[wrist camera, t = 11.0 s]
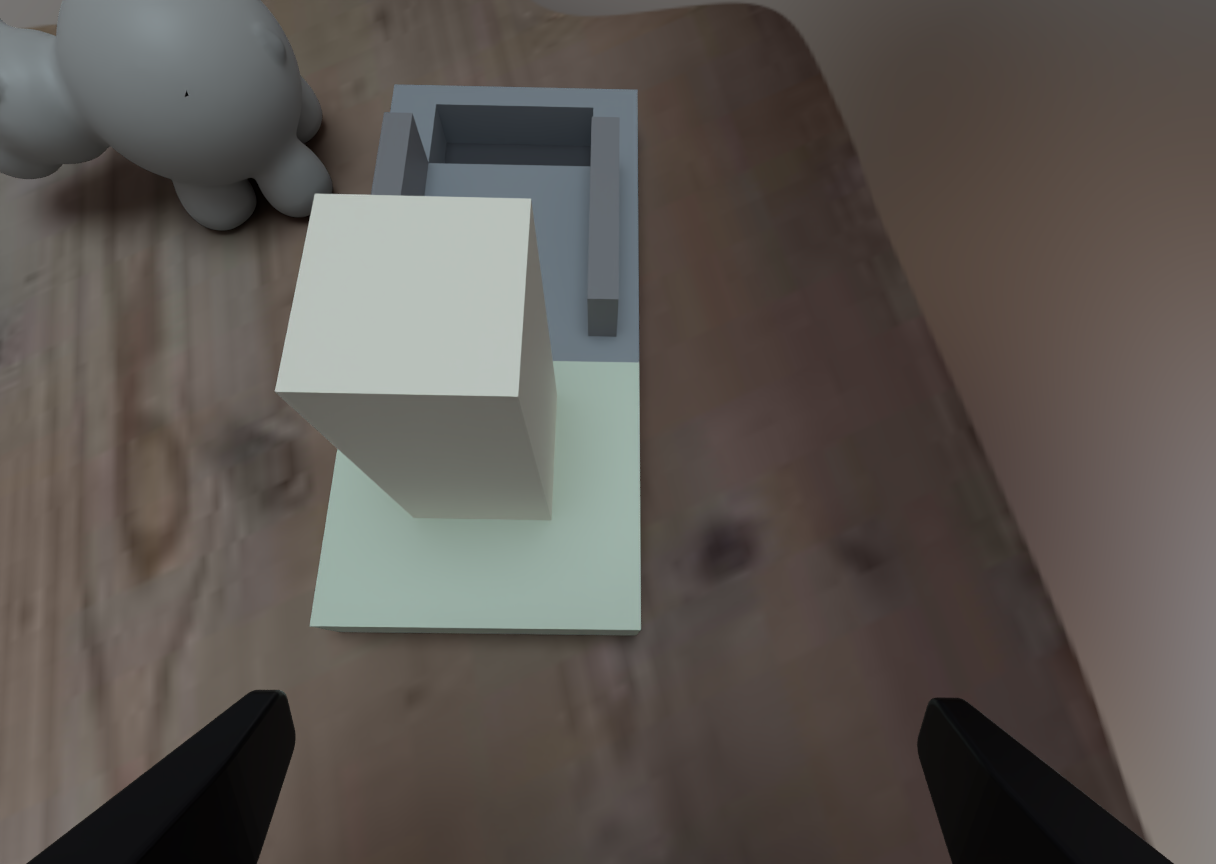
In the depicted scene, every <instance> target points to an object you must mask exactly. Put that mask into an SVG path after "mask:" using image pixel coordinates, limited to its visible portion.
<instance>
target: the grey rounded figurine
mask: <svg viewBox="0 0 1216 864" xmlns="http://www.w3.org/2000/svg"><path fill="white" fill-rule="evenodd" d="M321 122H322V110H321V106H320V103H319V101H318V99H317V97H316V95H315V93H314V92H313V90H312V89H311V87H310V86H309V85H308V83H307V82H306V81H305V80H304V79H303V78H302V77H301V75H300V72H299V68H298V64H297V61H296V58H295V55H294V52H293V50H292V47H291V45H290V43H289V41H288V39H287V37H286V35H285V33H284V31H283V30H282V28H281V26H280V25H279V23H278V22H277V20H276V19H275V17H274V16H273V15H272V13H271V12H270V11H269V10H268V8H267V7H266V6H265V5H264V4H263V3H262V1H261V0H63V1H62V4H61V7H60V11H59V16H58V23H57V34H56V36H54V35H51V34H48V33H45V32H41V31H37V30H32V29H21V28H15V27H11V26H9V25H7V24H6V23H5V22H3V21H2V20H1V19H0V172H1V173H4V174H6V175H9V176H12V177H15V178H21V179H37V178H43V177H46V176H49V175H51V174H53V173H54V172H56V171H57V170H58V169H59V168H60V167H61V165H62V164H76V163H82V162H86V161H90V160H92V159H95V158H97V157H98V156H100V155H101V154H102V153H103V152H104V151H105V150H106V149H107V148H108V147H110V146H111V147H112V148H113V149H115V150H116V151H117V152H118V153H120V154H121V155H122V156H124V157H125V158H127V159H128V160H130V161H131V162H133V163H134V164H136V165H138V166H140V167H142V168H144V169H146V170H148V171H150V172H152V173H155V174H157V175H160V176H163V177H166V178H169V179H171V180H172V182H173V184H174V187H175V190H176V193H177V195H178V197H179V199H180V201H181V203H182V205H183V206H184V208H185V209H186V211H187V212H188V213H189V214H190V216H191V217H192V218H193V219H194V220H196V221H197V222H198V223H199V224H201V225H203V226H205V227H207V228H210V229H213V230H230V229H233V228H235V227H237V226H239V225H241V224H242V223H244V222H245V221H246V220H247V219H248V218H249V217H250V216H251V215H252V213H253V212H254V210H255V207H256V202H257V201H256V195H255V192H254V190H253V187H252V186H251V184H250V182H249V181H248V180H247V178H254V179H255V180H256V181H257V183H258V186H259V188H260V189H261V191H262V193H263V195H264V196H265V198H266V199H267V200H268V201H269V203H270V204H271V205H272V206H273V207H274V208H275V209H277V210H278V211H280V212H281V213H283V214H285V215H288V216H292V217H305V216H308V215H311V210H312V205H313V200H314V195H315V194H331V193H332V188H333V187H332V181H331V178H330V175H329V173H328V171H327V170H326V168H325V166H324V165H323V163H322V162H321V161H320V160H319V158H318V157H317V156H316V155H315V154H314V153H313V152H312V151H311V150H310V149H309V148H308V147H307V146H305V145H304V144H303V143H305V142H307V141H309V140H310V139H311V138H312V137H313V136H314V135H315V134H316V133H317V131H318V130H319V128H320V125H321Z"/></svg>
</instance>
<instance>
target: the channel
mask: <svg viewBox="0 0 1216 864" xmlns="http://www.w3.org/2000/svg"><path fill="white" fill-rule="evenodd" d="M371 195H397V196H440V197H483V198H526V199H531V201H532V209H533V216H534V224H535V231H536V239H537V246H538V254H539V261H540V269H541V277H542V284H543V292H544V299H545V307H546V314H547V322H548V329H549V337H550V344H551V352H552V359H553V367H554V374H555V382H556V389H557V409H556V431H555V454H554V477H553V500H552V520H505V519H449V518H413V517H412V516H411V515H410V514H409V513H408V512H407V511H406V510H405V509H403V508H402V507H401V506H400V505H399V504H398V503H397V502H396V501H395V500H393V499H392V498H391V497H390V496H389V495H388V494H387V493H386V492H385V491H384V490H382V489H381V488H380V487H379V486H378V485H377V484H376V483H375V482H374V481H373V480H371V479H370V478H369V477H368V476H367V475H366V474H365V473H364V472H363V471H362V470H360V469H359V468H358V467H357V466H356V465H355V464H354V463H353V462H352V461H351V460H349V459H348V458H347V457H346V456H345V455H344V454H343V453H342V452H341V451H340V450H338V449H337V455H336V461H335V468H334V474H333V480H332V487H331V493H330V499H329V506H328V512H327V519H326V525H325V531H324V538H323V544H322V550H321V557H320V563H319V570H318V576H317V582H316V589H315V595H314V601H313V608H312V614H311V621H310V626H311V627H316V628H321V629H326V630H331V631H336V632H382V633H470V634H557V635H637V634H638V633H639V632H640V630H641V569H640V419H639V269H638V119H637V90H622V89H576V88H530V87H484V86H438V85H394V92H393V98H392V104H391V111H390V112H384V117H383V123H382V129H381V136H380V142H379V148H378V154H377V161H376V167H375V173H374V179H373V185H372V192H371Z"/></svg>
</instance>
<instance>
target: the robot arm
mask: <svg viewBox="0 0 1216 864" xmlns="http://www.w3.org/2000/svg"><path fill="white" fill-rule="evenodd" d="M294 746H295V728H294V724H293V720H292V716H291V712H290V707H289V703H288V699H287V696H286V694H285V693H284V692H283V691H280V690H254V691H252V692H250V693H248V694H246V695H245V696H244V697H243V698H241V699H240V700H239V701H237V702H236V703H235V704H233V705H232V706H231V707H230V708H228V709H227V710H226V711H224V712H223V713H222V714H220V715H219V716H218V717H217V718H215V719H214V720H213V721H211V722H210V723H209V724H207V725H206V726H205V727H204V728H202V729H201V730H200V731H198V732H197V733H196V734H194V735H193V736H192V737H191V738H189V739H188V740H187V741H185V742H184V743H183V744H181V745H180V746H179V747H178V748H176V749H175V750H174V751H172V752H171V753H170V754H168V755H167V756H166V757H165V758H163V759H162V760H161V761H159V762H158V763H157V764H155V765H154V766H153V767H152V768H150V769H149V770H148V771H146V772H145V773H144V774H142V775H141V776H140V777H139V778H137V779H136V780H135V781H133V782H132V783H131V784H129V785H128V786H127V787H125V788H124V789H123V790H122V791H120V792H119V793H118V794H116V795H115V796H114V797H112V798H111V799H110V800H109V801H107V802H106V803H105V804H103V805H102V806H101V807H99V808H98V809H97V810H96V811H94V812H93V813H92V814H90V815H89V816H88V817H86V818H85V819H84V820H83V821H81V822H80V823H79V824H77V825H76V826H75V827H73V828H72V829H71V830H70V831H68V832H67V833H66V834H64V835H63V836H62V837H60V838H59V839H58V840H57V841H55V842H54V843H53V844H51V845H50V846H49V847H47V848H46V849H45V850H44V851H42V852H41V853H40V854H38V855H37V856H36V857H34V858H33V859H32V860H31V861H29V862H28V863H27V864H257V861H258V859H259V856H260V853H261V850H262V847H263V844H264V841H265V838H266V835H267V832H268V829H269V825H270V822H271V819H272V816H273V813H274V810H275V807H276V804H277V801H278V797H279V794H280V791H281V788H282V785H283V782H284V779H285V776H286V773H287V769H288V766H289V763H290V760H291V757H292V754H293V751H294ZM917 747H918V755H919V759H920V762H921V765H922V768H923V772H924V775H925V778H926V781H927V785H928V788H929V791H930V794H931V797H932V801H933V804H934V807H935V810H936V814H937V817H938V820H939V823H940V826H941V830H942V833H943V836H944V839H945V843H946V846H947V849H948V852H949V855H950V858H951V861H952V864H1174V863H1172V862H1171V861H1170V860H1168V859H1167V858H1166V857H1165V856H1163V855H1162V854H1161V853H1159V852H1158V851H1157V850H1156V849H1154V848H1153V847H1152V846H1151V845H1149V844H1148V843H1147V842H1146V841H1144V840H1143V839H1142V838H1140V837H1139V836H1138V835H1137V834H1135V833H1134V832H1133V831H1131V830H1130V829H1129V828H1128V827H1126V826H1125V825H1124V824H1123V823H1121V822H1120V821H1119V820H1117V819H1116V818H1115V817H1114V816H1112V815H1111V814H1110V813H1108V812H1107V811H1106V810H1105V809H1103V808H1102V807H1101V806H1099V805H1098V804H1097V803H1096V802H1094V801H1093V800H1092V799H1091V798H1089V797H1088V796H1087V795H1085V794H1084V793H1083V792H1082V791H1080V790H1079V789H1078V788H1076V787H1075V786H1074V785H1073V784H1071V783H1070V782H1069V781H1068V780H1066V779H1065V778H1064V777H1062V776H1061V775H1060V774H1059V773H1057V772H1056V771H1055V770H1053V769H1052V768H1051V767H1050V766H1048V765H1047V764H1046V763H1045V762H1043V761H1042V760H1041V759H1039V758H1038V757H1037V756H1036V755H1034V754H1033V753H1032V752H1030V751H1029V750H1028V749H1027V748H1025V747H1024V746H1023V745H1022V744H1020V743H1019V742H1018V741H1016V740H1015V739H1014V738H1013V737H1011V736H1010V735H1009V734H1007V733H1006V732H1005V731H1004V730H1002V729H1001V728H1000V727H999V726H997V725H996V724H995V723H993V722H992V721H991V720H990V719H988V718H987V717H986V716H984V715H983V714H982V713H981V712H979V711H978V710H977V709H976V708H974V707H973V706H972V705H970V704H969V703H968V702H966V701H965V700H963V699H960V698H933V699H931V700H930V701H929V703H928V705H927V709H926V712H925V715H924V719H923V722H922V726H921V729H920V732H919V736H918V742H917Z"/></svg>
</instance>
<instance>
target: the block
mask: <svg viewBox="0 0 1216 864" xmlns="http://www.w3.org/2000/svg"><path fill="white" fill-rule="evenodd" d="M275 392H276V393H277V394H278V395H279V396H280V397H281V398H282V399H283V400H284V401H286V402H287V403H288V404H289V405H290V406H291V407H292V408H293V409H294V410H295V411H297V412H298V413H299V414H300V415H301V416H302V417H303V418H304V419H305V420H306V421H308V422H309V423H310V424H311V425H312V426H313V427H314V428H315V429H316V430H317V431H319V432H320V433H321V434H322V435H323V436H324V437H325V438H326V439H327V440H329V441H330V442H331V443H332V444H333V445H334V446H335V447H336V448H337V449H338V450H340V451H341V452H342V453H343V454H344V455H345V456H346V457H347V458H348V459H349V460H351V461H352V462H353V463H354V464H355V465H356V466H357V467H358V468H359V469H360V470H362V471H363V472H364V473H365V474H366V475H367V476H368V477H369V478H370V479H371V480H373V481H374V482H375V483H376V484H377V485H378V486H379V487H380V488H381V489H382V490H384V491H385V492H386V493H387V494H388V495H389V496H390V497H391V498H392V499H393V500H395V501H396V502H397V503H398V504H399V505H400V506H401V507H402V508H403V509H405V510H406V511H407V512H408V513H409V514H410V515H411V516H412V517H413V518H449V519H505V520H552V500H553V477H554V454H555V431H556V409H557V389H556V382H555V374H554V367H553V359H552V352H551V344H550V337H549V329H548V322H547V314H546V307H545V299H544V292H543V284H542V277H541V269H540V261H539V254H538V246H537V239H536V231H535V224H534V216H533V209H532V201H531V199H526V198H483V197H440V196H397V195H353V194H315V195H314V200H313V205H312V210H311V215H310V220H309V225H308V230H307V235H306V240H305V245H304V250H303V255H302V260H301V265H300V270H299V275H298V279H297V284H296V289H295V294H294V299H293V304H292V309H291V314H290V319H289V324H288V329H287V334H286V339H285V344H284V349H283V354H282V359H281V364H280V369H279V374H278V379H277V384H276V389H275Z"/></svg>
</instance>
